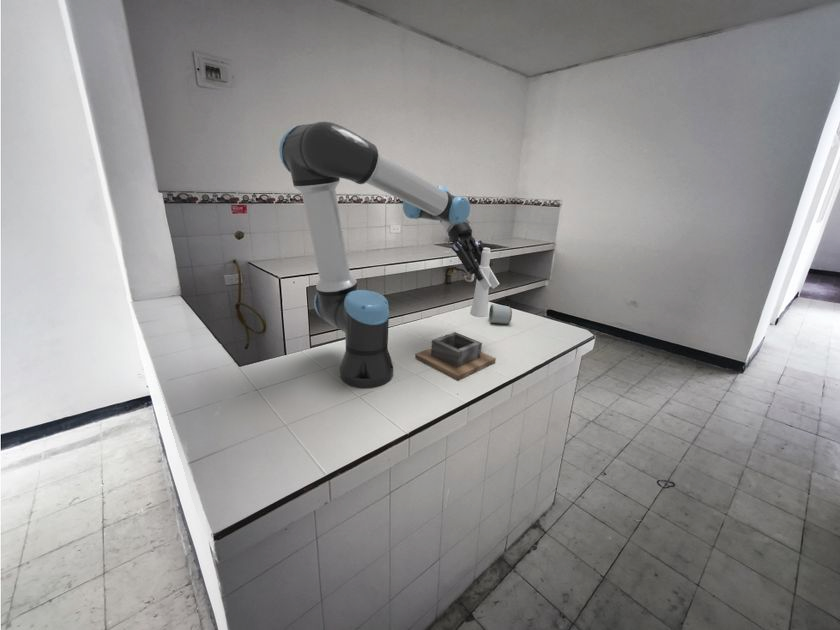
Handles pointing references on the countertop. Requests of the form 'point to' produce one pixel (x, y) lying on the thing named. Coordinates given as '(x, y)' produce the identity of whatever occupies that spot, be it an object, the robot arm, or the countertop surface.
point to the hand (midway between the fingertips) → (492, 287)
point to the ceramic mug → (500, 314)
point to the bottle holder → (455, 356)
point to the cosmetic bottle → (480, 295)
